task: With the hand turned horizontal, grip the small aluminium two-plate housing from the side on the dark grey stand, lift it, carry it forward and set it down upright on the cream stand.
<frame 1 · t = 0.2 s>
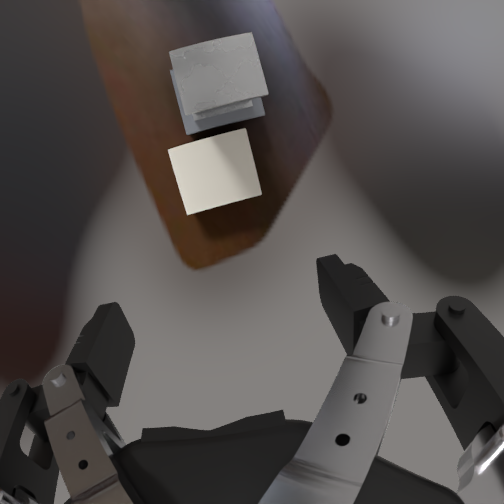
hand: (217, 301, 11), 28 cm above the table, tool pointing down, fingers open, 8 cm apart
housing: (217, 90, 30), point 4 cm above the table, touching stand a
stand a: (217, 95, 33), on the table
stand b: (215, 167, 37), on the table
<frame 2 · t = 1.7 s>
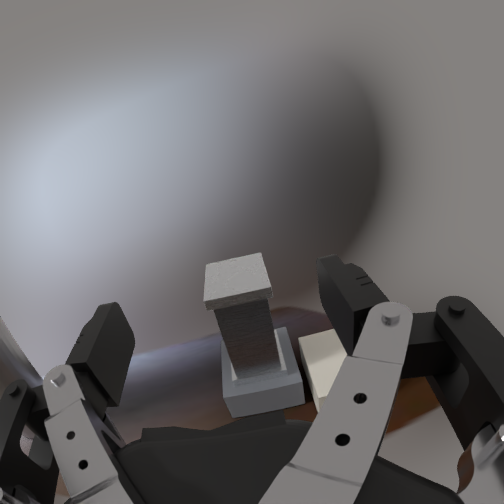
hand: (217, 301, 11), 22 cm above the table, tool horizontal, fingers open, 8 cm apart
housing: (257, 359, 32), point 4 cm above the table, touching stand a
stand a: (263, 381, 33), on the table
stand b: (343, 378, 31), on the table
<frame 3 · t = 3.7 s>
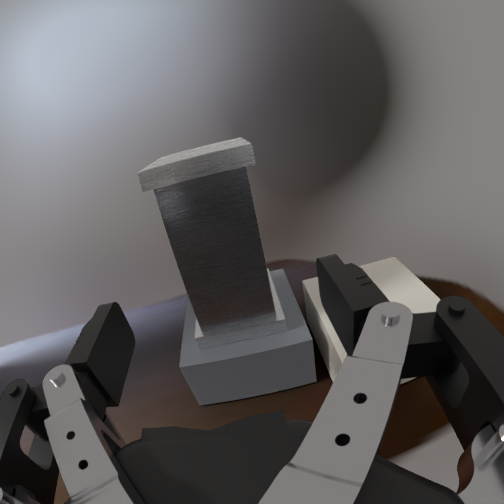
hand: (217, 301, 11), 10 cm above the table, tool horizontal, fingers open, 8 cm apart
housing: (239, 311, 21), point 4 cm above the table, touching stand a
stand a: (250, 351, 22), on the table
stand b: (373, 342, 20), on the table
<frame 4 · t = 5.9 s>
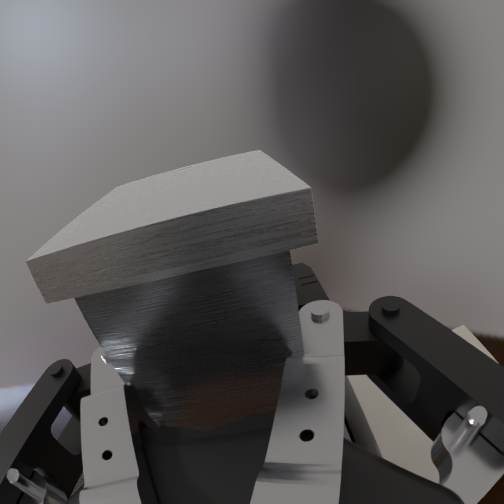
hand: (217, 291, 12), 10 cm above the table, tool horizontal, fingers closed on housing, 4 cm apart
housing: (253, 425, 12), point 4 cm above the table, touching gripper, stand a
stand b: (430, 443, 12), on the table
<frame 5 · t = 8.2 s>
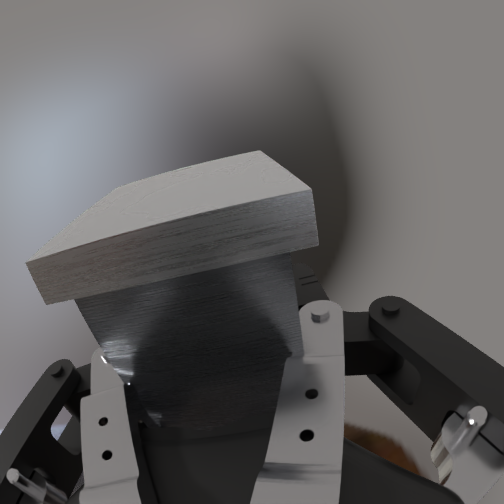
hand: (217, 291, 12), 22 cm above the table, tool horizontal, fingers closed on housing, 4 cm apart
housing: (253, 425, 12), point 16 cm above the table, touching gripper
when the fingers open (11 cm above the table, at t = 10.6 s): housing drops 1 cm, resting on stand b.
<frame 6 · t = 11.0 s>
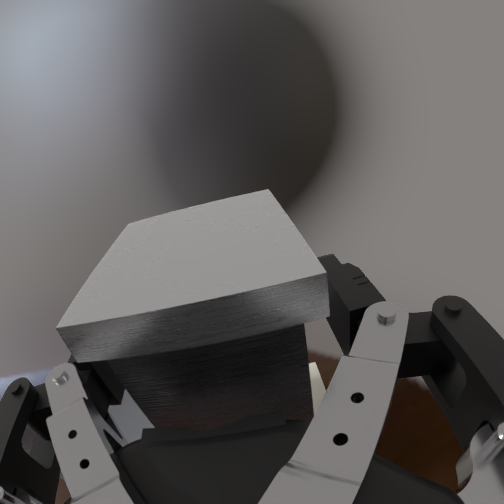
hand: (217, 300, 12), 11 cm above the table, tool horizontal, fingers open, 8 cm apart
housing: (260, 441, 13), point 4 cm above the table, touching stand b
stand a: (139, 448, 17), on the table
stand b: (270, 467, 15), on the table
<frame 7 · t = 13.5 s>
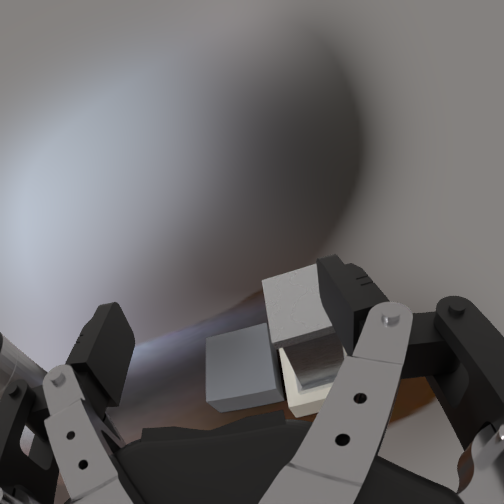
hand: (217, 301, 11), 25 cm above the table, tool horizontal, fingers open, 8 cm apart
housing: (319, 361, 30), point 4 cm above the table, touching stand b
stand a: (248, 375, 36), on the table
stand b: (323, 375, 33), on the table
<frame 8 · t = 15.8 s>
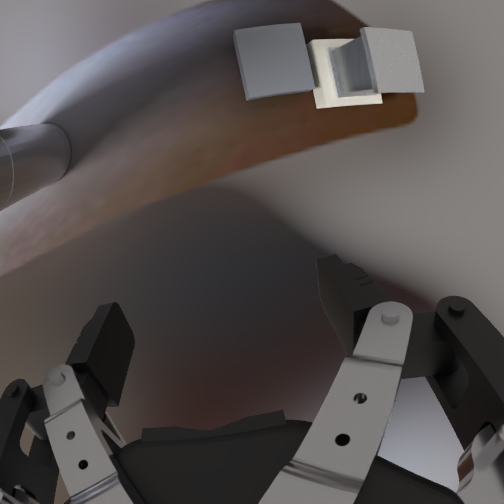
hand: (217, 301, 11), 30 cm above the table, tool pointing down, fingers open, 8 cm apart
housing: (350, 72, 31), point 4 cm above the table, touching stand b
stand a: (270, 64, 33), on the table
stand b: (337, 74, 34), on the table
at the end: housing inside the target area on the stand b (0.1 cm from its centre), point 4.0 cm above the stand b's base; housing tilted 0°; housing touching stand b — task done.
